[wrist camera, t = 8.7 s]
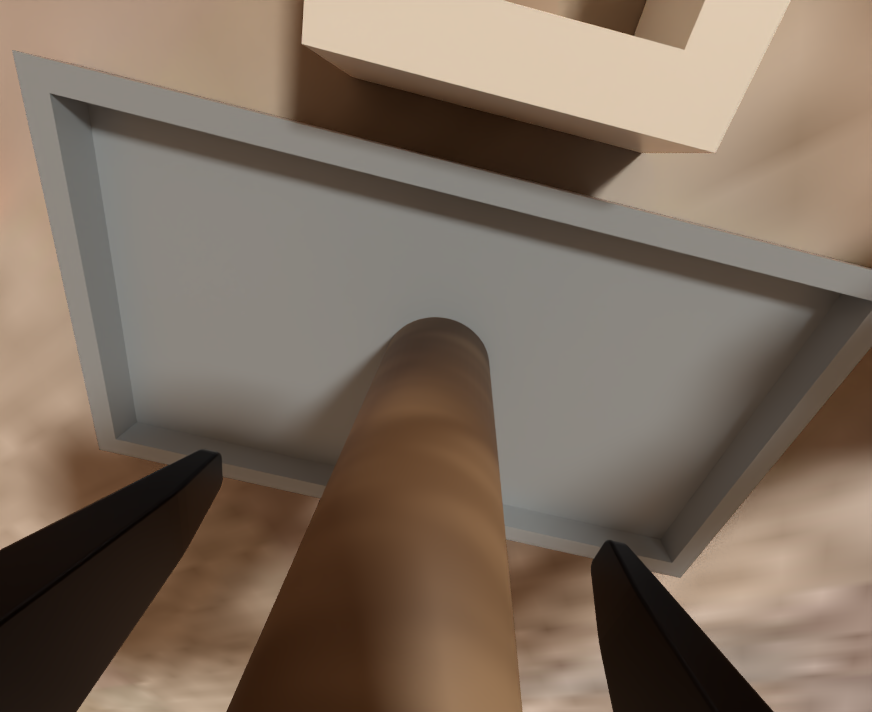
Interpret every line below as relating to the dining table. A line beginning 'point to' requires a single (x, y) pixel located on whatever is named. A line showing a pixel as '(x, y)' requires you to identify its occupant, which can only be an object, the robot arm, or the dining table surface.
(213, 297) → the tray
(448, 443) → the pin
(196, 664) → the dining table surface
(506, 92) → the square frame
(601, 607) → the robot arm
